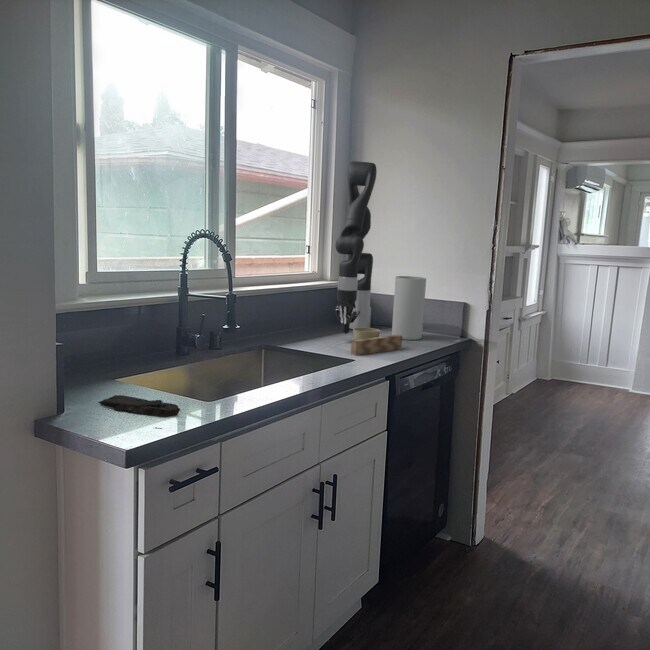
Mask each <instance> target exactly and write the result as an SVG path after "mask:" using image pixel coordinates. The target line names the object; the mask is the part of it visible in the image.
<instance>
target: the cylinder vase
mask: <svg viewBox="0 0 650 650" xmlns="http://www.w3.org/2000/svg"><path fill="white" fill-rule="evenodd" d="M394 280H395V281H394V294H393V295H394V296H393V310H392V324H391V335H401V336H402V341H403V340H404V341H417V340H421V339H422V337H423V327H424V314H425V300H426V284H427V278H426V277H421V276H412V275H407V276H406V275H397V276H395V279H394Z"/></svg>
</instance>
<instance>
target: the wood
mask: <svg viewBox="0 0 650 650" xmlns="http://www.w3.org/2000/svg"><path fill="white" fill-rule="evenodd" d="M99 403H100V404H101V405H104V406H107V407H111V408H113V410H115V411H116V412H121V413H127V414H133V415H138V416H139V415H140V416H141V415H142V416H143V415H144V416H152V417H157V418H168V417H174V416H177V415H178V414H179V412H180V411H181V408H179V406H178V404H175V403H171V402H163V400H162V399H153V400H148V399H144V398H139V397H134V396H129V395H122V394H121V395H118V394H117V395H116V394H115V395H113V396H111V397H108V398H105V399H104V398H103V400H100V401H99Z"/></svg>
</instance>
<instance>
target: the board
mask: <svg viewBox="0 0 650 650" xmlns="http://www.w3.org/2000/svg"><path fill="white" fill-rule="evenodd" d="M402 345H403V339H402V336H401V335H392V334H391V335H384V336H379V337H373V338H366V339H358V340H355V339H352V340H351V347H350V348H351V349H350V354H351V355H352V354H353V356H360V355H361V354H362V355H368V353H369V354H374V353H382V352H389V351H395V350H396V349H397V350H401V349H403V346H402Z"/></svg>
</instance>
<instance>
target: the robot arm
mask: <svg viewBox="0 0 650 650" xmlns="http://www.w3.org/2000/svg"><path fill="white" fill-rule="evenodd" d="M347 167H348V168H347V188H348V208H347V211H346V215H345V219H344V225H343V227H342V229H341V231H340V232H339V234H338V235H337V238H336V241H335V244H334V245H335V250H336V252H337V253H338V254H340V255H347V260H341V261H340V262H339V266H338V268H339V269H338V280H337V292H336V293H337V295H336V300H337V301H338V302H337V305H336V306H335V307H332V310H333V312H334V315H335V317H336V319H337V321H338V322H340V323H341V333H342V334H345V335H346V334H349V332H350V329H351V330H353V329H354V328H371V319H372V317H371V316H372V307H371V290H372V288H371V287H372V277H373V276H372V273H373V266H374V256H373V254H372V253H369V252H363V250H364V246H365V242H364V239H365V238H366V237H367V235H368V234H369V232H370V230H371V224H372V223H371V222H372V221H371V219H372V214H371V211H370V208H369V206H368V205H369V202H370V198H371V197H372V193H373V190H374V187H375V184H376V180H377V173H378V172H377V166H376V164H375V163H374V162H369V161H356V160H353V161H350V162H349V164H348V166H347ZM358 186H359V187H364V188H363V190H362V191H361V192H359V187H358ZM358 275H363V277H362V278H360V279H358Z"/></svg>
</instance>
